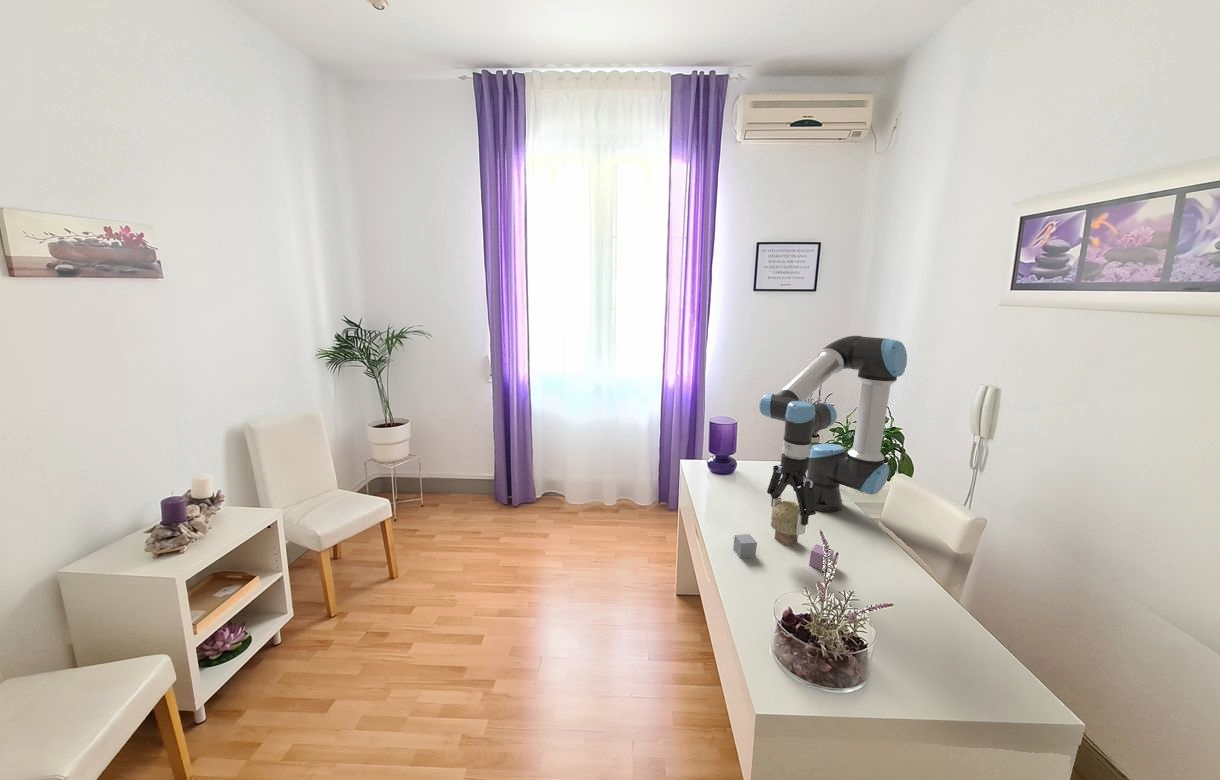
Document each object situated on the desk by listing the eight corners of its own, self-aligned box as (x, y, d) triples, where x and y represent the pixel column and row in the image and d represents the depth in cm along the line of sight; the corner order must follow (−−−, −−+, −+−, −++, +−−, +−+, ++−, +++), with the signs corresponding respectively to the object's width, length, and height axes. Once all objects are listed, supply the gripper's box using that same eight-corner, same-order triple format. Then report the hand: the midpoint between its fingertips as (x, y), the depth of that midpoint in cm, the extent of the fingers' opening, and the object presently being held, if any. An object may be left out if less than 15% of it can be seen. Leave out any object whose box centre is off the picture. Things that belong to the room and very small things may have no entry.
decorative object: (795, 548, 143) (817, 522, 141) (766, 527, 144) (788, 501, 142) (788, 534, 152) (809, 510, 151) (761, 515, 153) (782, 490, 151)
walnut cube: (783, 535, 164) (785, 521, 163) (797, 541, 160) (798, 527, 159) (774, 539, 161) (776, 525, 160) (787, 546, 157) (789, 531, 156)
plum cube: (814, 558, 150) (816, 543, 149) (831, 565, 147) (833, 550, 146) (809, 565, 147) (811, 550, 146) (826, 572, 144) (828, 556, 143)
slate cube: (748, 548, 155) (749, 534, 154) (755, 557, 150) (757, 542, 149) (733, 549, 154) (734, 535, 153) (740, 558, 149) (741, 543, 148)
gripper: (759, 444, 151) (752, 512, 156) (816, 470, 131) (806, 546, 136) (777, 441, 154) (770, 507, 159) (836, 466, 134) (826, 540, 140)
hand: (787, 525), depth 148 cm, fingers closed on decorative object, 9 cm apart
